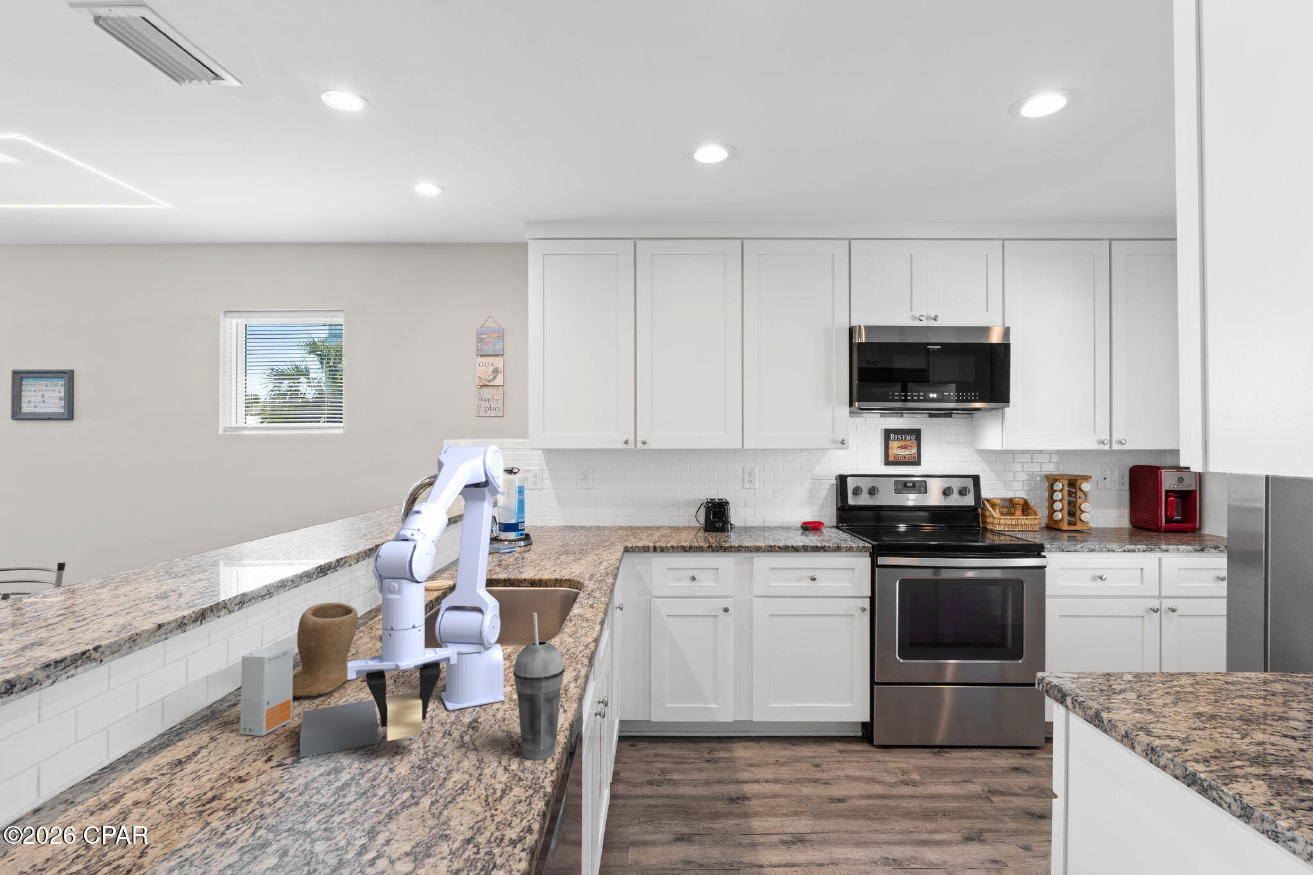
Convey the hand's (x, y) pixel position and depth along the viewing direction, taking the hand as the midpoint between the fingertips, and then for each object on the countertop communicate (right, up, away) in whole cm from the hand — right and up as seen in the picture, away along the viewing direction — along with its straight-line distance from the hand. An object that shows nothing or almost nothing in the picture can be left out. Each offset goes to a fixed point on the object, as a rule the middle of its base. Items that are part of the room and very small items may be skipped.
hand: (403, 720), depth 91 cm
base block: (-12, -5, +5) cm, 14 cm away
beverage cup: (+19, -5, 0) cm, 20 cm away
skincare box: (-25, -5, +9) cm, 27 cm away
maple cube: (0, -2, 0) cm, 2 cm away
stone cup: (-25, -6, +26) cm, 37 cm away
